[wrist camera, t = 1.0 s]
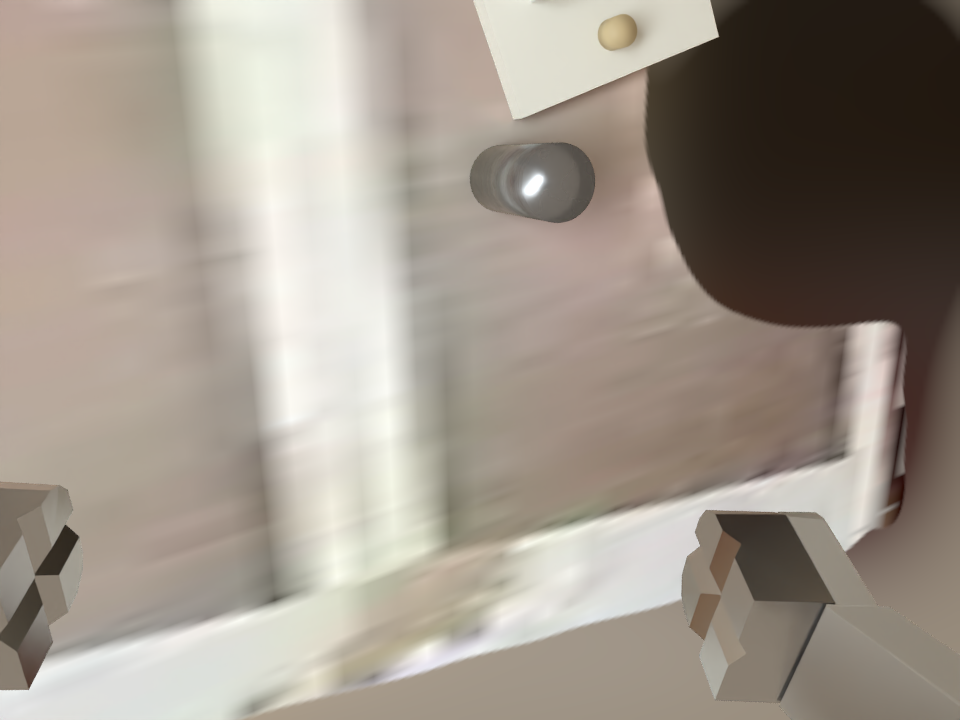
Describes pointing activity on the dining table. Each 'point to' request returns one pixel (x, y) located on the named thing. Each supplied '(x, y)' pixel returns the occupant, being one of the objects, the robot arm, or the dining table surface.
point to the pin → (534, 180)
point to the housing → (584, 43)
